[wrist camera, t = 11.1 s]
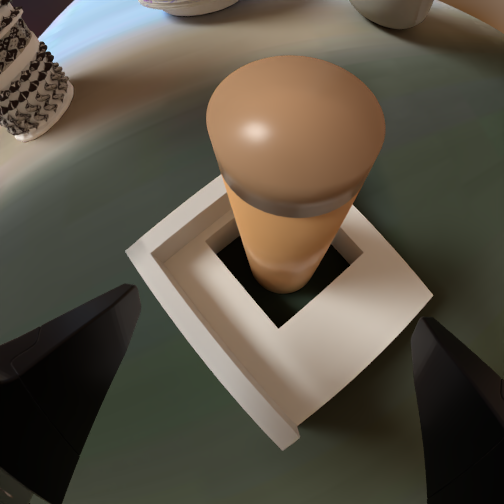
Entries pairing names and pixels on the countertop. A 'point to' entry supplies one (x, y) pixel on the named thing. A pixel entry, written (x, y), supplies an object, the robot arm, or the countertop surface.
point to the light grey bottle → (394, 11)
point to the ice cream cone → (292, 159)
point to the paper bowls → (188, 6)
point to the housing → (258, 323)
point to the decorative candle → (28, 79)
